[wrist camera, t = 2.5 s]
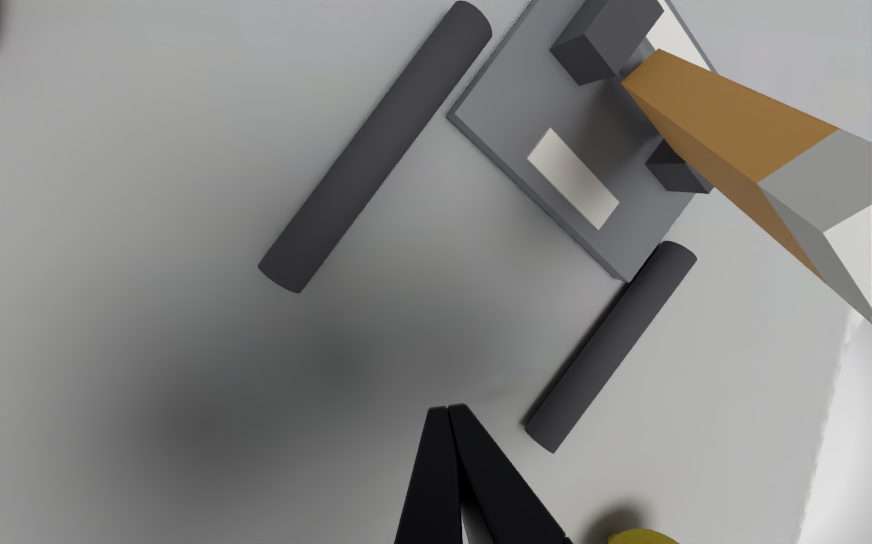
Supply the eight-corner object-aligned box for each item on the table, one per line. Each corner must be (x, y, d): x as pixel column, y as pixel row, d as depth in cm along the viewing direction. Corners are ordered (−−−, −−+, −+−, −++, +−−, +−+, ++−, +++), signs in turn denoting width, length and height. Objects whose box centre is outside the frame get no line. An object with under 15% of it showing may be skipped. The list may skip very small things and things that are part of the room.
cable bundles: (540, 437, 23) (560, 458, 21) (259, 260, 16) (256, 270, 15) (673, 257, 23) (703, 265, 21) (447, 10, 16) (464, -7, 15)
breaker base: (614, 278, 22) (665, 295, 19) (445, 116, 17) (477, 105, 14) (729, 123, 22) (797, 116, 19) (592, -79, 17) (653, -130, 14)
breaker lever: (660, 141, 19) (898, 348, 9) (604, 69, 18) (818, 225, 7) (694, 114, 19) (993, 308, 8) (638, 37, 17) (930, 160, 7)
